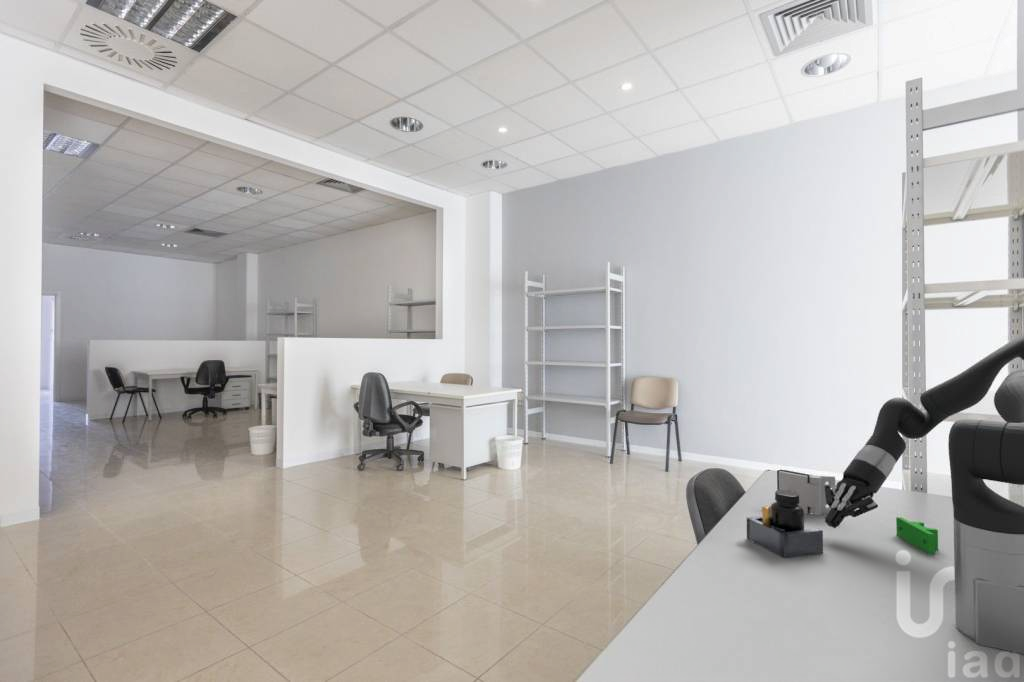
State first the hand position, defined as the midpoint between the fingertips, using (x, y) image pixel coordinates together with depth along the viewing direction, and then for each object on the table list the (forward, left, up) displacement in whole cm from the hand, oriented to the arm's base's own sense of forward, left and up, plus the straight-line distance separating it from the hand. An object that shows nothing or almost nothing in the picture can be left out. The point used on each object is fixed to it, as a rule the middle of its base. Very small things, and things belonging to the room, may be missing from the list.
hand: (829, 524), depth 118 cm
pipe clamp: (+7, -18, -4) cm, 19 cm away
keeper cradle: (-10, +9, -3) cm, 14 cm away
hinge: (+22, +5, -4) cm, 23 cm away
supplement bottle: (-9, +8, -4) cm, 13 cm away
